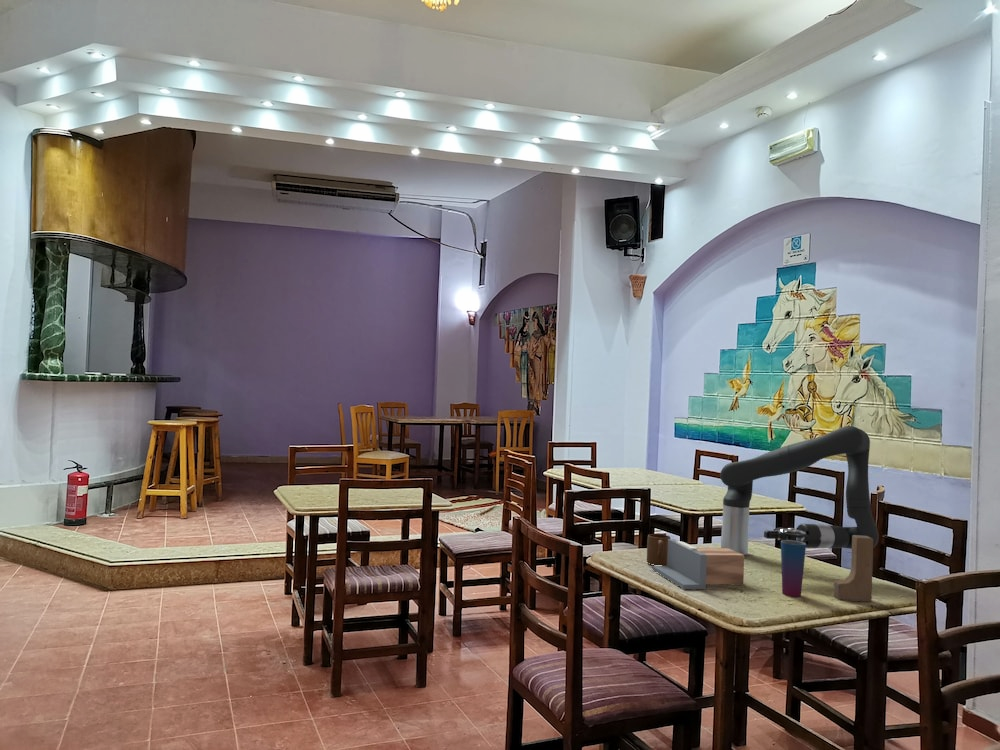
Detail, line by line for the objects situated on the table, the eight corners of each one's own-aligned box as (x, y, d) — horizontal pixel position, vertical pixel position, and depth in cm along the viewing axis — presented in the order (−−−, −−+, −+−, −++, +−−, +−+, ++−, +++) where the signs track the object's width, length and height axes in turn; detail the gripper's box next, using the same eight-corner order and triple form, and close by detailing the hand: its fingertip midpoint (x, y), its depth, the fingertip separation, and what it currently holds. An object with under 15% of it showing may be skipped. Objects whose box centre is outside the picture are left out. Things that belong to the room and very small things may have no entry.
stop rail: (652, 570, 232) (653, 537, 232) (672, 570, 233) (673, 537, 233) (683, 589, 209) (684, 552, 210) (705, 589, 210) (706, 553, 211)
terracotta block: (682, 576, 226) (683, 547, 226) (726, 576, 229) (727, 548, 229) (697, 585, 216) (698, 555, 216) (743, 585, 219) (744, 555, 219)
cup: (806, 594, 210) (808, 542, 211) (801, 599, 205) (803, 545, 205) (782, 590, 214) (783, 539, 215) (776, 594, 209) (778, 542, 209)
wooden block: (838, 599, 206) (840, 536, 206) (833, 595, 210) (835, 533, 211) (871, 602, 205) (873, 538, 205) (866, 598, 209) (868, 535, 210)
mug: (672, 570, 233) (673, 541, 233) (648, 569, 234) (649, 539, 234) (668, 562, 245) (669, 534, 245) (645, 560, 246) (646, 533, 246)
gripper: (803, 520, 237) (755, 518, 234) (828, 528, 224) (777, 526, 221) (802, 543, 237) (753, 541, 234) (827, 553, 224) (776, 551, 221)
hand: (765, 534), depth 227 cm, fingers closed
